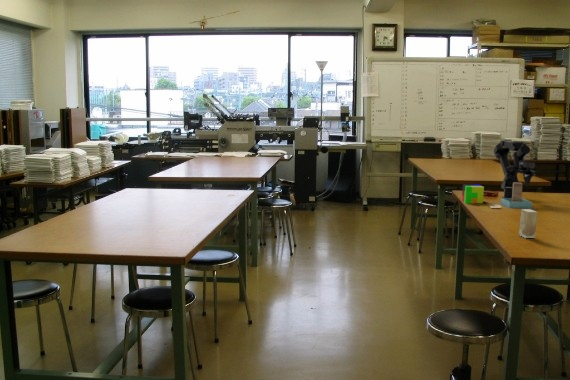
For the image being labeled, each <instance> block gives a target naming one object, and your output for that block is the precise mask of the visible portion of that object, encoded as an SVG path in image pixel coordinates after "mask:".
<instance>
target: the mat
mask: <svg viewBox="0 0 570 380" xmlns="http://www.w3.org/2000/svg"><path fill="white" fill-rule="evenodd" d="M496 204H497V205H500V206H501V207H504V208H506V209H513V210H514V209H517V210H520V209H521V210H522V209H531V210H537V208H536V207H533V206H532V208H509V207H507V206H505V205H503V204H501V202H496Z"/></svg>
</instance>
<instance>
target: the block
mask: <svg viewBox="0 0 570 380" xmlns="http://www.w3.org/2000/svg"><path fill="white" fill-rule="evenodd" d="M523 184H524V183H522V182H519V183H517V182H513V189H512V202H521V199H523V197H522V195H523Z"/></svg>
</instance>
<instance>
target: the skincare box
mask: <svg viewBox="0 0 570 380" xmlns="http://www.w3.org/2000/svg"><path fill="white" fill-rule="evenodd" d="M537 219H538V211H536V210H535V209H521V212H520V220H519V232H518V236H519V235H520V236H519V237H521V236H522V237H521V238H523V237H524V238H535V239H536V230H537V221H538V220H537ZM524 238H523V239H524Z"/></svg>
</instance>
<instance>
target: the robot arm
mask: <svg viewBox="0 0 570 380" xmlns="http://www.w3.org/2000/svg"><path fill="white" fill-rule="evenodd" d="M510 151H511V152H513V154H512V158H513V163H512V164H510V162H509V158H508V156H509V153H510ZM530 153H531V148H530V147H529V146H528V145H527V144H526V143H524V142H523V141H511V140H508V139H502V140H500V142H499V143H497V144H496V145H495V147H494V149H493V154H494V156H495V158H497V159H498V160H499V162H500V166H501V168H502V173H503V174H504V178H503V181H502V183H501V185H500V188H501V189H502V190H503V196H501V198H512V189H513V182H517V183H520V181H519V178H518V174H521V175H522V176H523V178H522V179H523V180H524V182H525V186H526V187H527V188H528V187H530V183H531V179H532V178H533V177H534V176H535V177H536V171H534V170H533V169H534V168H536V163H535V162H533V161H531V162H530V161H525V157H527V156H528V154H530Z"/></svg>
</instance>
